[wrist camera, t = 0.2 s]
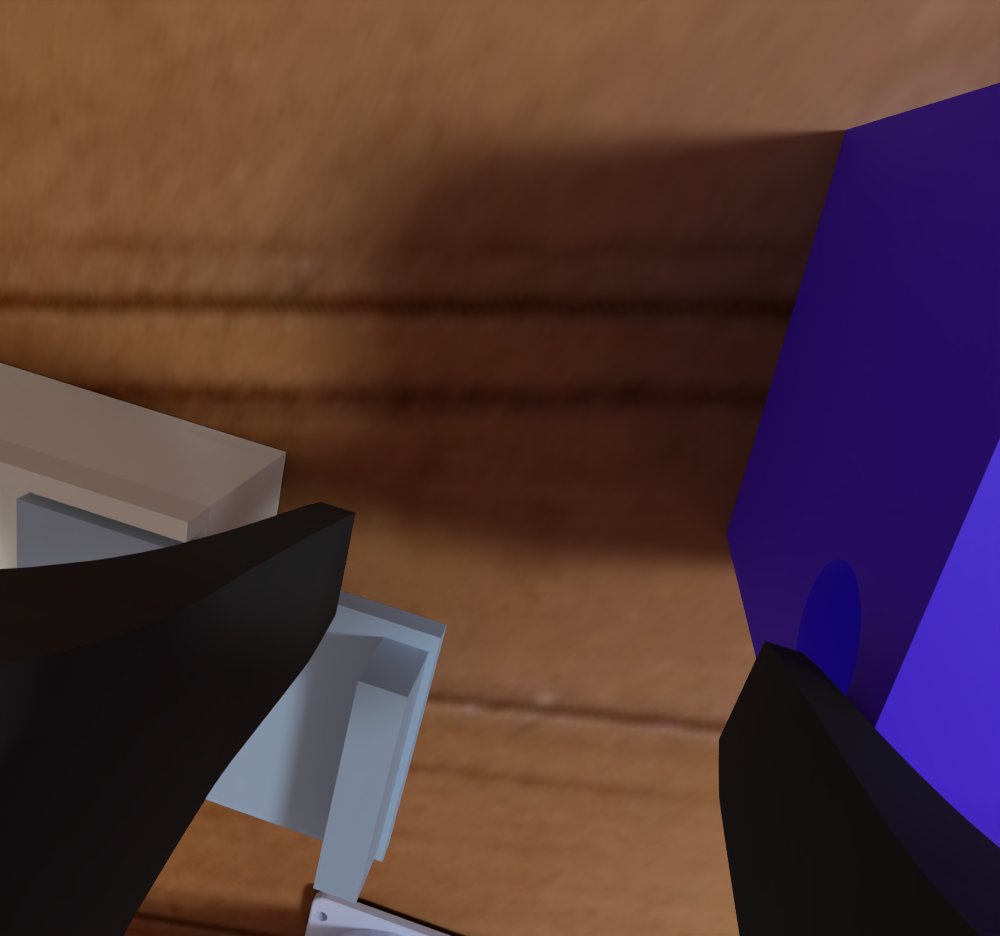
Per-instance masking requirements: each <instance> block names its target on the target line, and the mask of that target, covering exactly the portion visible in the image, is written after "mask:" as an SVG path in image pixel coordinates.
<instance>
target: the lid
mask: <svg viewBox="0 0 1000 936" xmlns="http://www.w3.org/2000/svg"><path fill="white" fill-rule="evenodd" d="M16 506H17V568H24V567H36V566H45V565H54V564H64V563H73V562H83V561H92V560H99V559H106V558H112V557H118V556H124V555H130V554H135V553H141V552H146V551H151V550H156V549H160V548H165V547H169V546H173V545H177V544H181V543H184V542H181V541H178V540H175V539H172V538H169V537H166V536H162V535H159V534H156V533H153V532H150V531H147V530H144V529H141V528H138V527H135V526H132V525H129V524H126V523H123V522H120V521H117V520H113V519H110V518H107V517H104V516H101V515H98V514H95V513H92V512H89V511H86V510H83V509H80V508H77V507H74V506H71V505H67V504H64V503H61V502H58V501H55V500H52V499H49V498H46V497H43V496H40V495H37V494H34V493H31V492H30V493H28V494H26V495H24V496H22V497H20V498H18V499H16ZM446 627H447V625H445V624H442V623H439V622H436V621H433V620H430V619H427V618H424V617H421V616H418V615H415V614H412V613H409V612H406V611H402V610H399V609H396V608H393V607H390V606H387V605H384V604H381V603H378V602H375V601H372V600H369V599H366V598H363V597H360V596H356V595H353V594H350V593H347V592H344V591H341V590H340V596H339V601H338V606H337V611H336V615H335V617H334V619H333V621H332V623H331V624H330V626H329V628H328V630H327V631H326V633H325V635H324V637H323V639H322V640H321V642H320V644H319V645H318V647H317V649H316V651H315V652H314V654H313V656H312V657H311V659H310V661H309V662H308V663H307V665H306V666H305V667H304V669H303V670H302V671H301V673H300V674H299V675H298V677H297V678H296V679H295V681H294V682H293V683H292V684H291V686H290V687H289V688H288V690H287V691H286V692H285V694H284V695H283V696H282V697H281V699H280V700H279V701H278V702H277V704H276V705H275V706H274V708H273V709H272V710H271V711H270V713H269V714H268V715H267V717H266V718H265V719H264V720H263V722H262V723H261V724H260V725H259V727H258V728H257V729H256V731H255V732H254V733H253V734H252V736H251V737H250V738H249V740H248V741H247V742H246V743H245V745H244V746H243V747H242V748H241V750H240V751H239V752H238V754H237V755H236V756H235V757H234V759H233V760H232V761H231V763H230V764H229V765H228V767H227V768H226V770H225V771H224V772H223V774H222V775H221V777H220V778H219V779H218V781H217V782H216V784H215V785H214V786H213V788H212V790H211V791H210V793H209V794H208V796H207V797H206V800H209V801H212V802H215V803H218V804H220V805H223V806H226V807H229V808H232V809H234V810H237V811H240V812H243V813H246V814H249V815H251V816H254V817H257V818H260V819H263V820H265V821H268V822H271V823H274V824H277V825H279V826H282V827H285V828H288V829H291V830H294V831H296V832H299V833H302V834H305V835H308V836H310V837H313V838H316V839H319V840H322V841H323V845H322V849H321V854H320V859H319V863H318V868H317V872H316V877H315V882H314V886H313V888H314V889H316V890H319V891H322V892H325V893H327V894H330V895H333V896H336V897H339V898H341V899H344V900H347V901H350V902H352V903H355V904H356V902H357V899H358V897H359V894H360V892H361V889H362V887H363V884H364V882H365V880H366V877H367V875H368V872H369V870H370V867H371V865H372V862H373V860H374V859H375V860H378V861H381V862H382V861H383V858H384V855H385V853H386V850H387V848H388V845H389V842H390V838H391V834H392V830H393V827H394V823H395V819H396V815H397V811H398V808H399V804H400V800H401V796H402V793H403V789H404V785H405V781H406V778H407V774H408V770H409V766H410V762H411V759H412V755H413V751H414V747H415V744H416V740H417V736H418V732H419V728H420V725H421V721H422V717H423V713H424V710H425V706H426V702H427V698H428V695H429V691H430V687H431V683H432V679H433V676H434V672H435V668H436V664H437V661H438V657H439V653H440V649H441V645H442V642H443V638H444V634H445V630H446Z"/></svg>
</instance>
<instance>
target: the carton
mask: <svg viewBox="0 0 1000 936" xmlns="http://www.w3.org/2000/svg"><path fill="white" fill-rule="evenodd" d="M285 457H286V452H284V451H281V450H278V449H275V448H272V447H268V446H265V445H262V444H259V443H256V442H252V441H249V440H246V439H243V438H240V437H236V436H233V435H230V434H227V433H224V432H220V431H217V430H214V429H211V428H208V427H204V426H201V425H198V424H195V423H192V422H188V421H185V420H182V419H179V418H176V417H172V416H169V415H166V414H163V413H160V412H156V411H153V410H150V409H147V408H144V407H140V406H137V405H134V404H131V403H128V402H124V401H121V400H118V399H115V398H111V397H108V396H105V395H102V394H99V393H95V392H92V391H89V390H86V389H83V388H79V387H76V386H73V385H70V384H67V383H63V382H60V381H57V380H54V379H51V378H47V377H44V376H41V375H38V374H35V373H31V372H28V371H25V370H22V369H19V368H15V367H12V366H9V365H6V364H3V363H0V569H7V568H17V506H16V499H18V498H20V497H22V496H24V495H26V494H28V493H30V492H31V493H34V494H37V495H40V496H43V497H46V498H49V499H52V500H55V501H58V502H61V503H64V504H67V505H71V506H74V507H77V508H80V509H83V510H86V511H89V512H92V513H95V514H98V515H101V516H104V517H107V518H110V519H113V520H117V521H120V522H123V523H126V524H129V525H132V526H135V527H138V528H141V529H144V530H147V531H150V532H153V533H156V534H159V535H162V536H166V537H169V538H172V539H175V540H178V541H181V542H184V543H185V542H188V541H192V540H196V539H200V538H203V537H207V536H211V535H214V534H218V533H222V532H225V531H229V530H232V529H235V528H239V527H242V526H245V525H248V524H251V523H254V522H257V521H260V520H264V519H267V518H270V517H273V516H276V515H277V512H278V505H279V498H280V491H281V484H282V478H283V471H284V464H285Z"/></svg>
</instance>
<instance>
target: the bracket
mask: <svg viewBox="0 0 1000 936" xmlns="http://www.w3.org/2000/svg"><path fill="white" fill-rule="evenodd" d="M727 539H728V543H729V547H730V552H731V556H732V560H733V564H734V568H735V572H736V576H737V581H738V585H739V589H740V593H741V597H742V601H743V605H744V610H745V614H746V618H747V622H748V626H749V630H750V634H751V639H752V643H753V647H754V651H755V655H756V659H757V656H758V654H759V652H760V650H761V648H762V646H763V643H764V641H767V642H770V643H773V644H777V645H780V646H783V647H786V648H789V649H793V650H796V651H799V652H802V653H804V654H805V655H806V656H807V657H808V658H809V659H811V660H812V661H813V662H814V663H815V664H816V665H817V666H818V667H819V668H820V669H821V670H822V671H823V672H824V673H825V674H826V676H827V677H828V678H829V679H830V680H831V681H832V682H833V683H834V684H835V685H836V686H837V687H838V688H839V689H840V691H841V692H842V693H843V694H844V695H845V696H846V697H847V698H848V699H849V700H850V702H851V703H852V704H853V705H854V706H855V707H856V708H857V709H858V710H859V711H860V712H861V714H862V715H863V716H864V717H865V718H866V719H867V720H868V721H869V722H870V723H871V724H872V726H873V727H874V728H875V729H876V730H877V731H878V732H879V733H880V734H881V735H882V736H883V737H884V738H885V739H886V741H887V742H888V743H889V744H890V745H891V746H892V747H893V748H894V749H895V750H896V751H897V752H898V753H899V754H900V755H901V756H902V757H903V758H904V759H905V760H906V761H907V762H908V763H909V764H910V765H911V766H912V767H913V768H914V769H915V770H916V771H917V772H918V773H919V774H920V775H921V776H922V777H923V778H924V779H925V780H926V781H927V782H928V783H929V784H930V785H931V786H932V787H933V788H934V789H935V790H936V791H937V792H938V793H939V794H940V795H941V796H942V797H943V798H944V799H945V800H946V801H947V802H948V803H950V804H951V805H952V806H953V807H954V808H955V809H956V810H957V811H958V812H959V813H960V814H961V815H963V816H964V817H965V818H966V819H967V820H968V821H969V822H970V823H972V824H973V825H974V826H975V827H976V828H977V829H978V830H980V831H981V832H982V833H983V834H984V835H985V836H987V837H988V838H989V839H990V840H991V841H992V842H994V843H995V844H996V845H997V846H998V847H999V848H1000V83H998V84H994V85H991V86H988V87H985V88H981V89H978V90H975V91H972V92H968V93H965V94H962V95H959V96H955V97H952V98H949V99H946V100H942V101H939V102H936V103H932V104H929V105H926V106H923V107H919V108H916V109H913V110H910V111H906V112H903V113H900V114H897V115H893V116H890V117H887V118H884V119H880V120H877V121H874V122H871V123H867V124H864V125H861V126H858V127H854V128H851V129H848V130H846V134H845V137H844V140H843V144H842V147H841V150H840V154H839V157H838V161H837V164H836V167H835V171H834V174H833V177H832V181H831V184H830V187H829V191H828V194H827V198H826V201H825V204H824V208H823V211H822V214H821V218H820V221H819V225H818V228H817V231H816V235H815V238H814V241H813V245H812V248H811V252H810V255H809V258H808V262H807V265H806V268H805V272H804V275H803V278H802V282H801V285H800V289H799V292H798V295H797V299H796V302H795V305H794V309H793V312H792V316H791V319H790V322H789V326H788V329H787V332H786V336H785V339H784V343H783V346H782V349H781V353H780V356H779V359H778V363H777V366H776V370H775V373H774V376H773V380H772V383H771V386H770V390H769V393H768V396H767V400H766V403H765V407H764V410H763V413H762V417H761V420H760V423H759V427H758V430H757V434H756V437H755V440H754V444H753V447H752V450H751V454H750V457H749V461H748V464H747V467H746V471H745V474H744V477H743V481H742V484H741V487H740V491H739V494H738V498H737V501H736V504H735V508H734V511H733V514H732V518H731V521H730V525H729V528H728V531H727Z"/></svg>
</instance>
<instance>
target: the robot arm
mask: <svg viewBox="0 0 1000 936" xmlns="http://www.w3.org/2000/svg"><path fill="white" fill-rule="evenodd" d="M354 517H355V513H354V512H351V511H348V510H344V509H341V508H338V507H335V506H332V505H328V504H325V503H322V502H320V503H315V504H311V505H307V506H304V507H301V508H297V509H294V510H291V511H288V512H285V513H282V514H279V515H276V516H273V517H270V518H267V519H264V520H260V521H257V522H254V523H251V524H248V525H245V526H242V527H239V528H235V529H232V530H229V531H225V532H222V533H218V534H214V535H211V536H207V537H203V538H200V539H196V540H192V541H188V542H185V543H181V544H177V545H173V546H169V547H165V548H160V549H156V550H151V551H146V552H141V553H135V554H130V555H124V556H118V557H112V558H106V559H99V560H92V561H83V562H73V563H64V564H54V565H45V566H36V567H24V568H7V569H0V936H123V935H124V933H125V931H126V930H127V928H128V926H129V925H130V923H131V921H132V919H133V918H134V916H135V914H136V912H137V911H138V909H139V907H140V905H141V904H142V902H143V900H144V899H145V897H146V895H147V894H148V892H149V890H150V889H151V887H152V885H153V884H154V882H155V880H156V879H157V877H158V875H159V874H160V872H161V870H162V869H163V867H164V865H165V864H166V862H167V860H168V859H169V857H170V855H171V854H172V852H173V850H174V849H175V847H176V845H177V844H178V842H179V841H180V839H181V837H182V836H183V834H184V833H185V831H186V829H187V828H188V826H189V825H190V823H191V821H192V820H193V818H194V817H195V815H196V813H197V812H198V810H199V809H200V807H201V805H202V804H203V802H204V801H205V799H206V797H207V796H208V794H209V793H210V791H211V790H212V788H213V786H214V785H215V784H216V782H217V781H218V779H219V778H220V777H221V775H222V774H223V772H224V771H225V770H226V768H227V767H228V765H229V764H230V763H231V761H232V760H233V759H234V757H235V756H236V755H237V754H238V752H239V751H240V750H241V748H242V747H243V746H244V745H245V743H246V742H247V741H248V740H249V738H250V737H251V736H252V734H253V733H254V732H255V731H256V729H257V728H258V727H259V725H260V724H261V723H262V722H263V720H264V719H265V718H266V717H267V715H268V714H269V713H270V711H271V710H272V709H273V708H274V706H275V705H276V704H277V702H278V701H279V700H280V699H281V697H282V696H283V695H284V694H285V692H286V691H287V690H288V688H289V687H290V686H291V684H292V683H293V682H294V681H295V679H296V678H297V677H298V675H299V674H300V673H301V671H302V670H303V669H304V667H305V666H306V665H307V663H308V662H309V661H310V659H311V657H312V656H313V654H314V652H315V651H316V649H317V647H318V645H319V644H320V642H321V640H322V639H323V637H324V635H325V633H326V631H327V630H328V628H329V626H330V624H331V623H332V621H333V619H334V617H335V615H336V611H337V606H338V601H339V596H340V590H341V585H342V580H343V575H344V569H345V564H346V559H347V554H348V548H349V543H350V538H351V533H352V527H353V522H354ZM719 799H720V807H721V814H722V821H723V828H724V835H725V842H726V849H727V856H728V862H729V869H730V876H731V882H732V889H733V895H734V902H735V909H736V915H737V922H738V928H739V935H740V936H1000V848H999V847H998V846H997V845H996V844H995V843H994V842H992V841H991V840H990V839H989V838H988V837H987V836H985V835H984V834H983V833H982V832H981V831H980V830H978V829H977V828H976V827H975V826H974V825H973V824H972V823H970V822H969V821H968V820H967V819H966V818H965V817H964V816H963V815H961V814H960V813H959V812H958V811H957V810H956V809H955V808H954V807H953V806H952V805H951V804H950V803H948V802H947V801H946V800H945V799H944V798H943V797H942V796H941V795H940V794H939V793H938V792H937V791H936V790H935V789H934V788H933V787H932V786H931V785H930V784H929V783H928V782H927V781H926V780H925V779H924V778H923V777H922V776H921V775H920V774H919V773H918V772H917V771H916V770H915V769H914V768H913V767H912V766H911V765H910V764H909V763H908V762H907V761H906V760H905V759H904V758H903V757H902V756H901V755H900V754H899V753H898V752H897V751H896V750H895V749H894V748H893V747H892V746H891V745H890V744H889V743H888V742H887V741H886V739H885V738H884V737H883V736H882V735H881V734H880V733H879V732H878V731H877V730H876V729H875V728H874V727H873V726H872V724H871V723H870V722H869V721H868V720H867V719H866V718H865V717H864V716H863V715H862V714H861V712H860V711H859V710H858V709H857V708H856V707H855V706H854V705H853V704H852V703H851V702H850V700H849V699H848V698H847V697H846V696H845V695H844V694H843V693H842V692H841V691H840V689H839V688H838V687H837V686H836V685H835V684H834V683H833V682H832V681H831V680H830V679H829V678H828V677H827V676H826V674H825V673H824V672H823V671H822V670H821V669H820V668H819V667H818V666H817V665H816V664H815V663H814V662H813V661H812V660H811V659H809V658H808V657H807V656H806V655H805V654H804V653H802V652H799V651H796V650H793V649H789V648H786V647H783V646H780V645H777V644H773V643H770V642H767V641H764V643H763V646H762V648H761V650H760V652H759V654H758V656H757V659H756V661H755V663H754V665H753V667H752V669H751V672H750V674H749V676H748V678H747V680H746V682H745V684H744V687H743V689H742V691H741V693H740V695H739V697H738V700H737V702H736V704H735V706H734V708H733V710H732V713H731V715H730V717H729V719H728V721H727V723H726V725H725V728H724V730H723V732H722V734H721V736H720V738H719ZM305 936H451V935H448V934H445V933H442V932H439V931H437V930H434V929H431V928H428V927H426V926H423V925H420V924H417V923H414V922H412V921H409V920H406V919H403V918H401V917H398V916H395V915H392V914H390V913H387V912H384V911H381V910H378V909H376V908H373V907H370V906H367V905H365V904H362V903H359V902H356V904H355V903H352V902H350V901H347V900H344V899H341V898H339V897H336V896H333V895H330V894H327V893H325V892H322V891H320V892H318V893H317V894H316V895H315V897H314V900H313V902H312V905H311V910H310V914H309V919H308V924H307V928H306V933H305Z"/></svg>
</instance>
